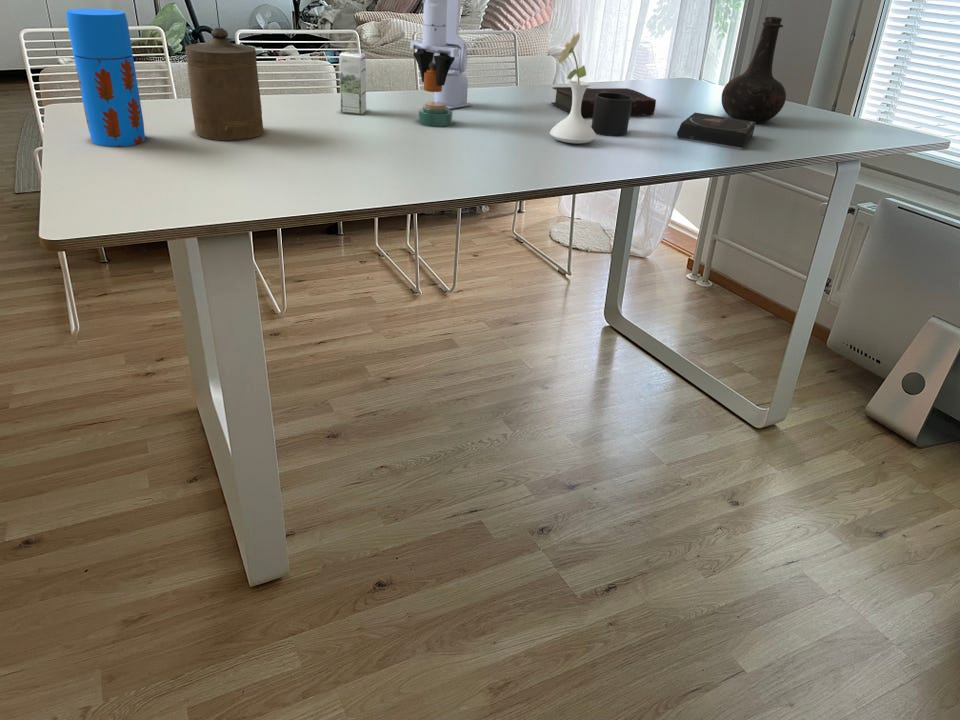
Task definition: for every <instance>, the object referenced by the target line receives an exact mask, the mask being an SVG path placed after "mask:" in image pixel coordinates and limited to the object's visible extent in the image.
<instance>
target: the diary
mask: <svg viewBox="0 0 960 720" xmlns="http://www.w3.org/2000/svg"><path fill="white" fill-rule="evenodd" d="M552 89H553V90H555V91H556V92H555V101H553V102H550V104H551V105H553V106H555V107H557V108H558V109H561V110H563V111H565V112H567V113H568V114H570V112H571V108H572V89H571V86H566V87H565V86H553V87H552ZM598 93H618V94H624V95H628V96H630V97H632V105H631V108H632V112H631V115H630V116H653V115H655V111H656V107H657V106H656V105H657V100H656V98H653V97H651V96H648V95H646V94H644V93H642V92H640V91H638V90H634V89H631V88H626V87H621V88H620V87H619V88H618V87H615V88H614V87H612V88H611V87H610V88H609V87H608V88H607V87H605V88H603V87H602V88H601V87H600V88H598V87H597V88H596V87H595V88H589V87H587V89H586V90H585V92H584V95H583V99H582V103H581V116H582V117H593V111H594V104H595V97H596V94H598Z"/></svg>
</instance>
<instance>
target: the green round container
mask: <svg viewBox="0 0 960 720" xmlns="http://www.w3.org/2000/svg"><path fill="white" fill-rule="evenodd" d="M453 113H454V112H453V111H452V109H449V108H448V107H446V103H443V102H435V101H434V100H433V101H427V102H425V105H423V106H422V107H421V108H419V110H418V123H419V124H420V125H422V126H427V127H434V128H443V127H445V128H446V127H449V126H452V125H453Z"/></svg>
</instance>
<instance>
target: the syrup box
mask: <svg viewBox="0 0 960 720" xmlns="http://www.w3.org/2000/svg"><path fill="white" fill-rule="evenodd" d="M338 61H339V62H338V66H339V90H340V91H339V99H340V101H339V102H340V113H342V114H352V115H363V114H364V113H365V112H366V111H367V84H366V83H367V69H366V68H367V57H366V53H364V52H353V51H342V52H340V53H339V55H338Z"/></svg>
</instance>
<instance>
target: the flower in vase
mask: <svg viewBox="0 0 960 720" xmlns="http://www.w3.org/2000/svg"><path fill="white" fill-rule="evenodd" d="M580 37H581V34H580V32H577V33H574V34H572V37H571V39H570V41H569V42H568V41H567V42H566V43H565V45H564V48H563V49H562V51H560V52H559V54H558V58H557V59H556V62H558V64H562V63H563V62H564V61H565V60H566V59H568V57H569V56H570V55H571V54H572V56H573V58H574V62H575V67H576V68H575V69H573V70H571V71H570V72H569V73H568V75H567V77H566V79H567V80H570V81H568V84H569V87H571V89H572V108H571V112H570V113H568V115H567V116H566V117H565V118H563V119H561V121H559V122H558V123H556V124H555V125H554V126H553V127H552V128H551V129H550V131H549V134H550V136H551V138H553V139H555V140H557V141H559V142H564V143H567V144H587V143H591V142H593V141H594V140H595V139H596V138H597V133H595V132H594V130H593V129H592V128H591V125H590V124H589V123H588V122H587V121H586V119H584V118H583V117H584V116H581V103H582V99H583V95H584V92H585V90H586V89H587V88H589V86H590V85H591V84H590V83H589V82H587V81H580V79H581V78H583V77H585V76H587V71H586V70H587V69H586V66H585V64H583V65H582V66H581V67H579V65H578V60H577V57H576V54H575V51H574V49H575V48H576V46H577V44H578V43H579V40H580ZM575 76H576V77H577V80H571V79H573V78H574V77H575Z"/></svg>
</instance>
